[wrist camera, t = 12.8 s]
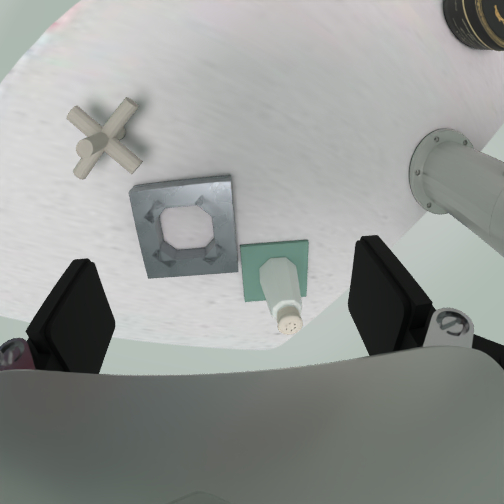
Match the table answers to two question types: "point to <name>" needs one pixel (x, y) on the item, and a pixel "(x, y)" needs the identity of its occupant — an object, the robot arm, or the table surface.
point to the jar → (477, 22)
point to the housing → (177, 195)
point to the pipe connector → (103, 139)
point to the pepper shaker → (282, 293)
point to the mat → (261, 253)
